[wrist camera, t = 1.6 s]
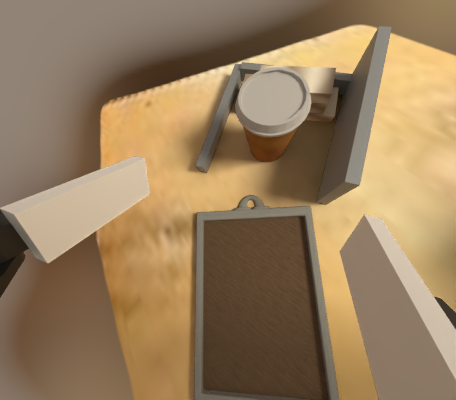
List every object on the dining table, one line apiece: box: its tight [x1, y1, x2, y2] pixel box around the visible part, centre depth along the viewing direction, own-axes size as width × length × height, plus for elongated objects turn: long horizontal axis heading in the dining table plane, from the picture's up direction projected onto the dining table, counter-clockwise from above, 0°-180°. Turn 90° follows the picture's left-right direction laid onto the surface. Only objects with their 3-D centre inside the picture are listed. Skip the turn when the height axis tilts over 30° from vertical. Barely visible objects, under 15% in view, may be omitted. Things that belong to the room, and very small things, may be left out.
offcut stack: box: [235, 65, 339, 122], centre depth 32 cm, size 18×6×6 cm, turn 76°
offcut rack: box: [196, 27, 392, 205], centre depth 29 cm, size 23×23×10 cm
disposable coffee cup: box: [236, 67, 311, 162], centre depth 27 cm, size 10×10×12 cm
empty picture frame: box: [194, 195, 339, 400], centre depth 28 cm, size 19×2×30 cm
